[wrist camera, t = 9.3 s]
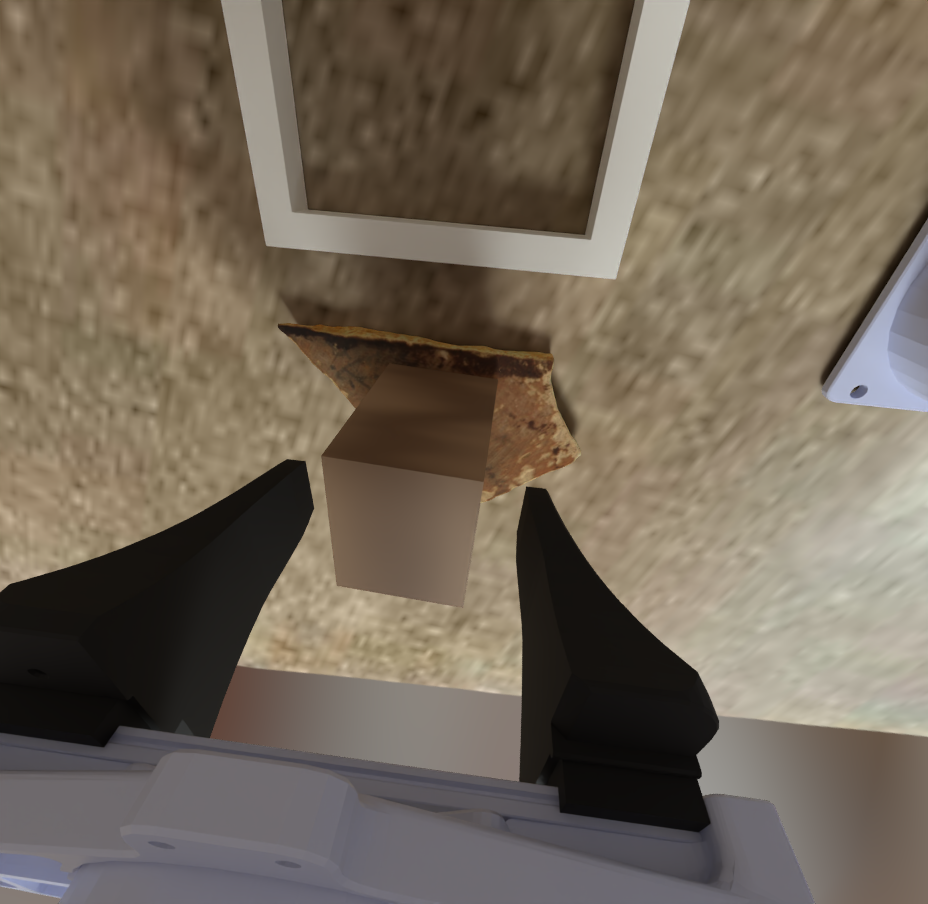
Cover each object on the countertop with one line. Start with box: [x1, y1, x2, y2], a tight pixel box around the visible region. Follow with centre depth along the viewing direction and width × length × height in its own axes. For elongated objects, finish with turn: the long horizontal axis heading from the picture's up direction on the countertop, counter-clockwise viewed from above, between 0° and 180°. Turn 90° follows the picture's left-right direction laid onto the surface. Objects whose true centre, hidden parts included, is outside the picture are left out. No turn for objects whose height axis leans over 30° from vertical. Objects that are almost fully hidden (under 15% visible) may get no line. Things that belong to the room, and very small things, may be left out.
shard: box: [278, 323, 581, 503], centre depth 16 cm, size 11×8×2 cm
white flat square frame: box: [221, 0, 690, 279], centre depth 10 cm, size 11×11×1 cm
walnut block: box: [321, 363, 498, 608], centre depth 14 cm, size 4×5×6 cm
